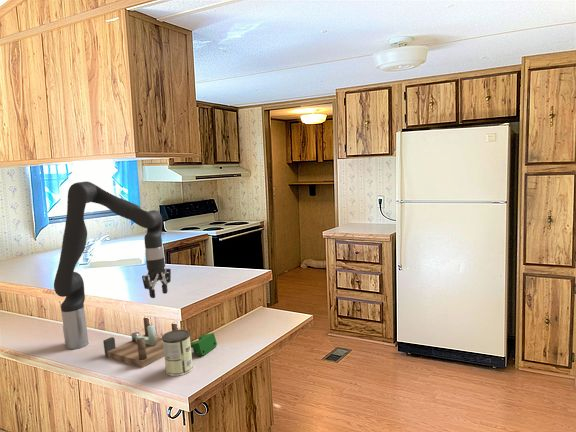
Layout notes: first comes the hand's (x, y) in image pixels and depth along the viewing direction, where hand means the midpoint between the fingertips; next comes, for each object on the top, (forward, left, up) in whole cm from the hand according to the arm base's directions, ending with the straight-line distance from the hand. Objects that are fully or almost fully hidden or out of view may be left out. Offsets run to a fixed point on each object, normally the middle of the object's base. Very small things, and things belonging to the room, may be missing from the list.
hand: (159, 295), depth 192 cm
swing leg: (-6, -6, -20) cm, 21 cm away
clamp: (+20, +3, -23) cm, 31 cm away
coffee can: (+24, -14, -23) cm, 36 cm away
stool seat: (-2, -8, -23) cm, 24 cm away
